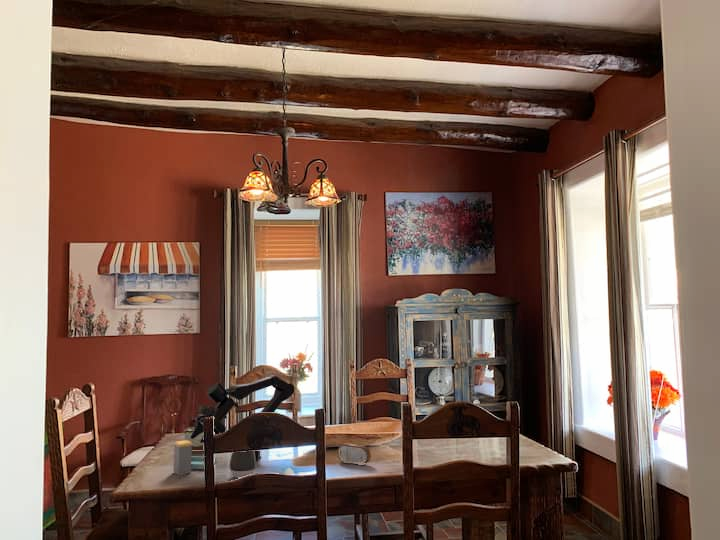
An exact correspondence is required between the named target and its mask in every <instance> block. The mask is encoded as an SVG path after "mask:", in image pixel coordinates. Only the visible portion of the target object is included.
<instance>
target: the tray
mask: <svg viewBox="0 0 720 540" xmlns="http://www.w3.org/2000/svg"><path fill="white" fill-rule="evenodd" d="M204 457H205V456H195V455H191V470H193V469H204ZM214 457H215V464H216V463H217V457H216V456H214ZM202 461H203V464H202Z"/></svg>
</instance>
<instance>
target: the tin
mask: <svg viewBox="0 0 720 540" xmlns="http://www.w3.org/2000/svg"><path fill="white" fill-rule="evenodd" d="M336 453H337V458H338V460H339V461H340V460H341V461H352V462H364V463H367V462H368V463H369V462H370V460H371V458H372V457H371V456H372V455H371V451H370V449H369V448H368V447H367V446H366V445H365V444H358V443H351V442H344V443H342V444H341V445H339V447H338V448H337V452H336ZM341 461H340V462H341ZM368 463H367V464H368Z"/></svg>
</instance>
